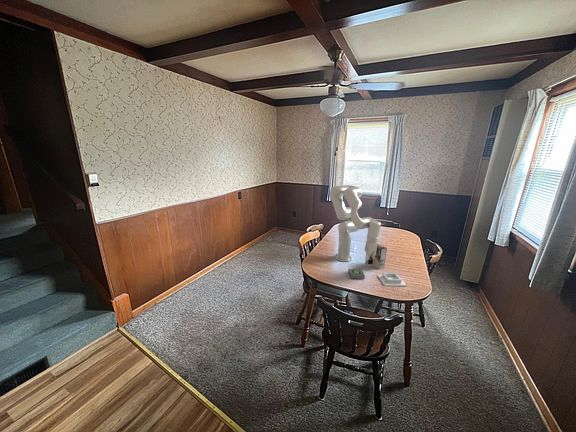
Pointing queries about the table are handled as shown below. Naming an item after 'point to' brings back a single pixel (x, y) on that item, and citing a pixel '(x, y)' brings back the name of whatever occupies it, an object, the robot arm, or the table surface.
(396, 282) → the white square tray
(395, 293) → the table surface
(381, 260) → the coffee box
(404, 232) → the table surface
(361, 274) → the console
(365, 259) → the cylinder
